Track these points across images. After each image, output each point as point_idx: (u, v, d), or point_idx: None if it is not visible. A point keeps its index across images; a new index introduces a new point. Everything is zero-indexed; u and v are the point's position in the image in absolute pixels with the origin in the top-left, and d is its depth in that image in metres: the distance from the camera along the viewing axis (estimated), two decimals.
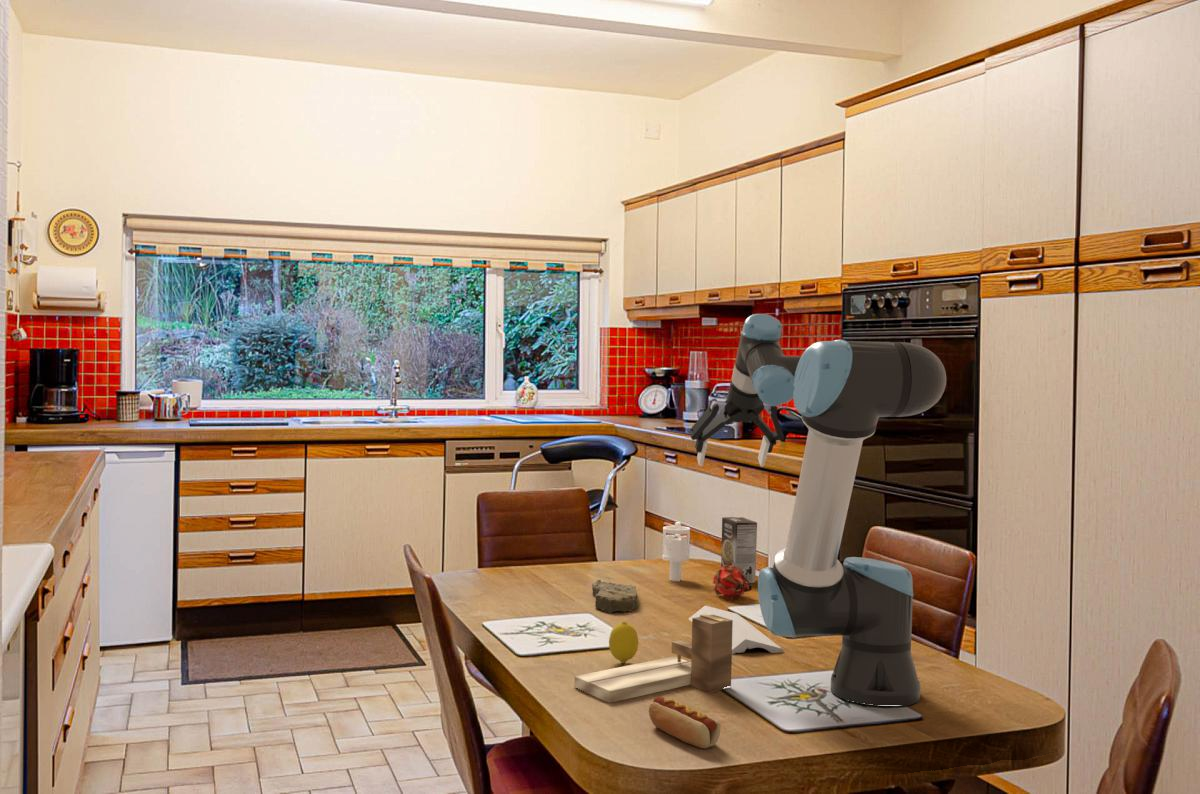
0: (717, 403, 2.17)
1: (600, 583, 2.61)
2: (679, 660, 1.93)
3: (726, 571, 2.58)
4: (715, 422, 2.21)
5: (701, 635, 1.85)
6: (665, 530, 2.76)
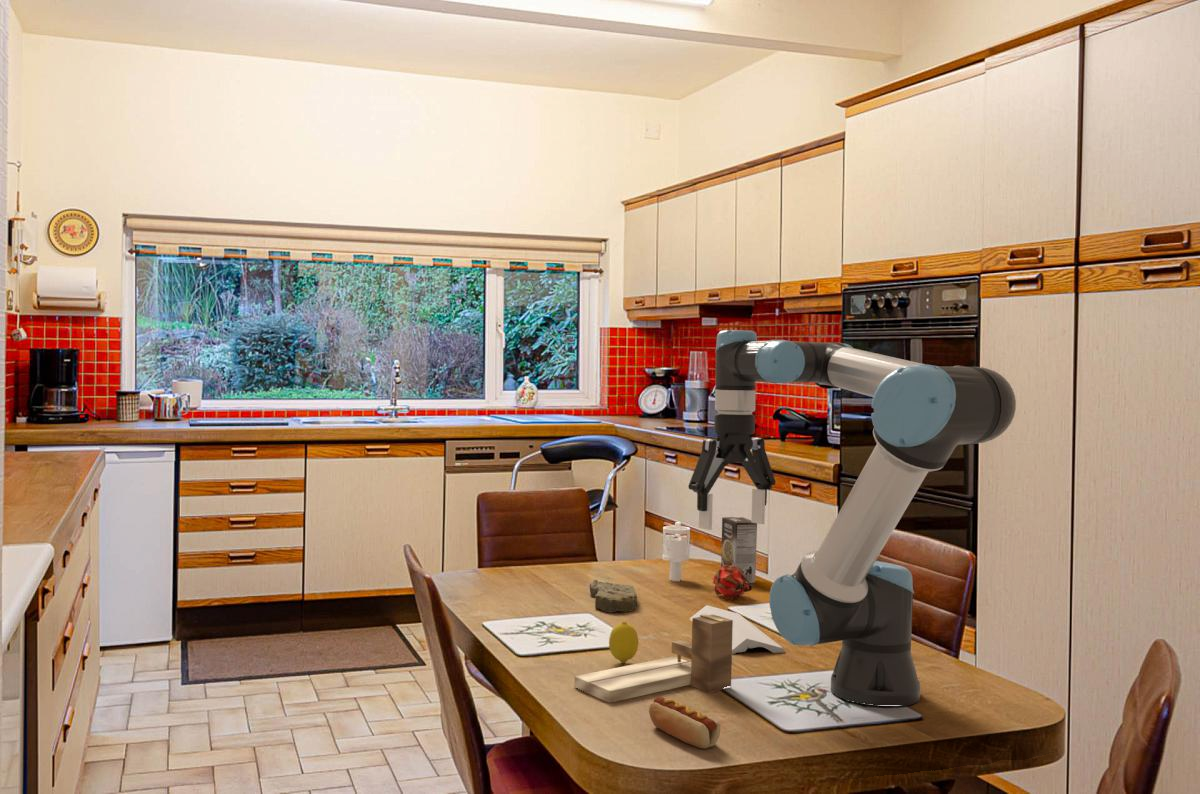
0: None
1: (597, 583, 2.61)
2: (679, 660, 1.93)
3: (726, 571, 2.58)
4: (711, 468, 1.95)
5: (701, 635, 1.85)
6: (665, 530, 2.76)
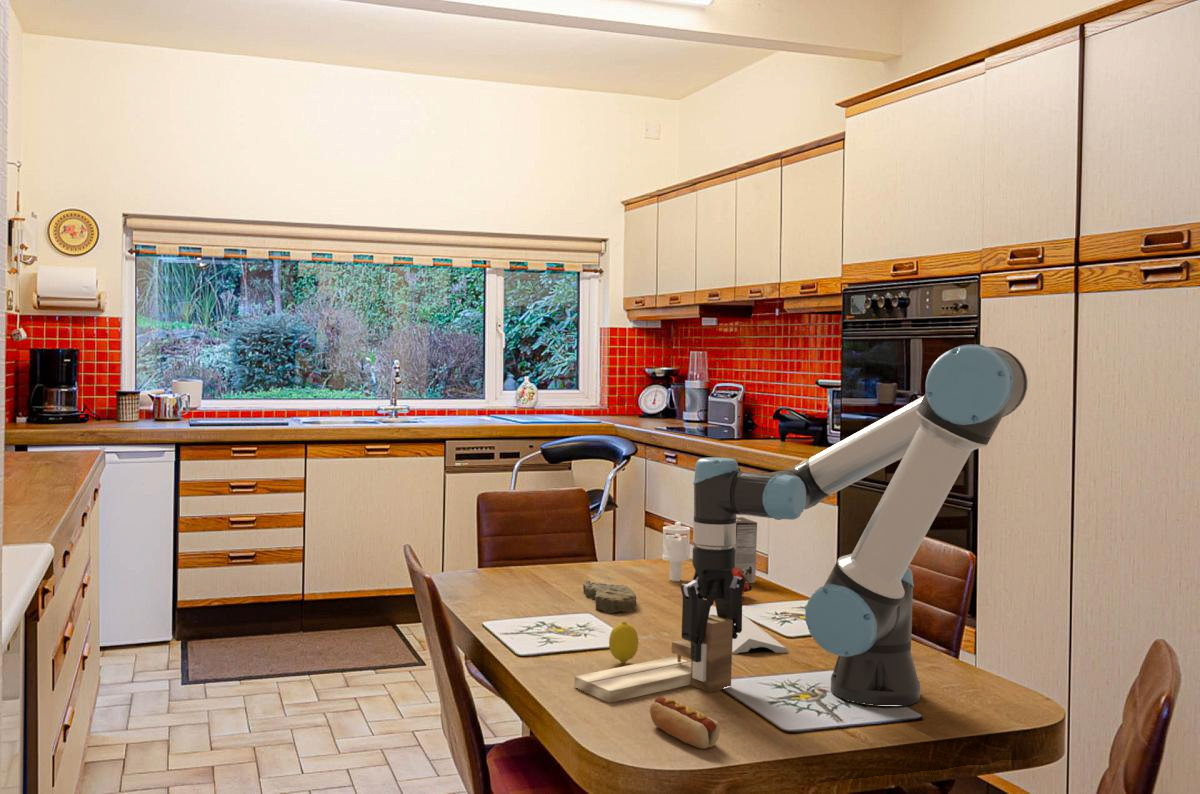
0: (689, 584, 1.82)
1: (591, 584, 2.60)
2: (679, 660, 1.93)
3: None
4: (698, 613, 1.84)
5: None
6: (665, 530, 2.76)
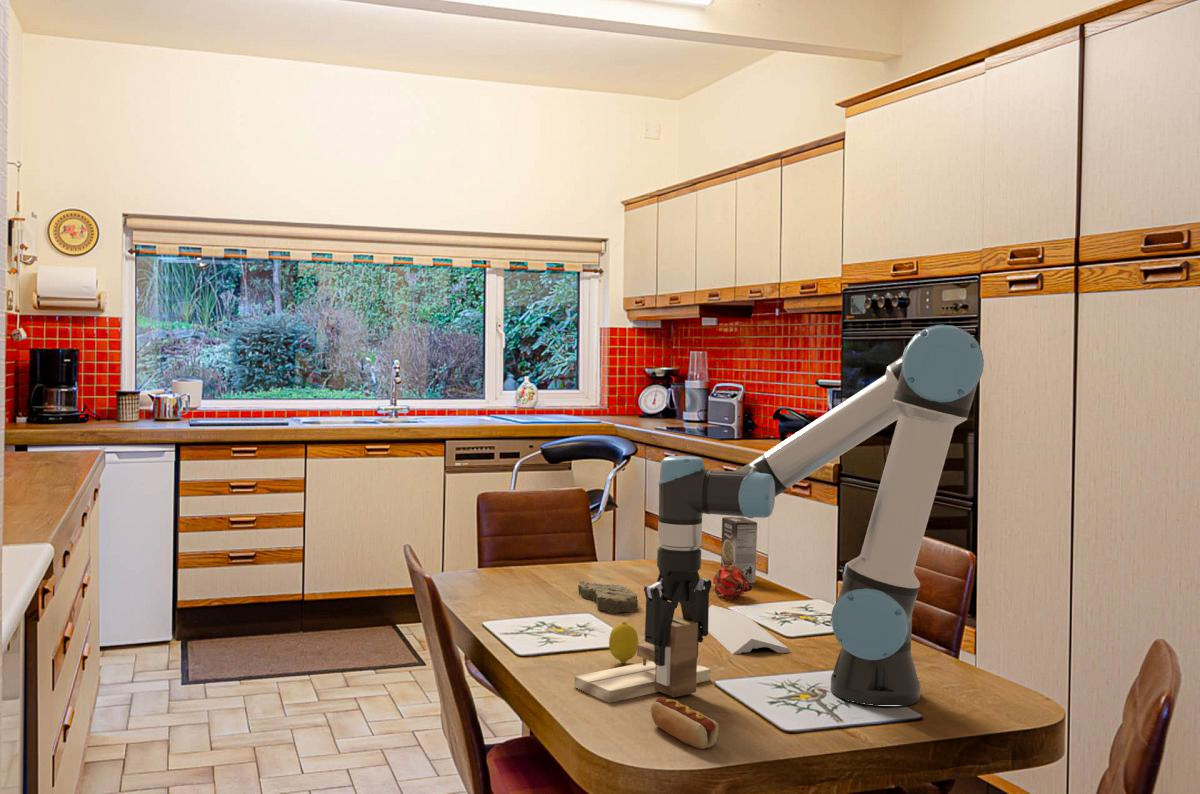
0: (653, 586, 1.78)
1: (587, 584, 2.59)
2: (644, 663, 1.88)
3: (726, 571, 2.58)
4: (662, 615, 1.80)
5: None
6: None
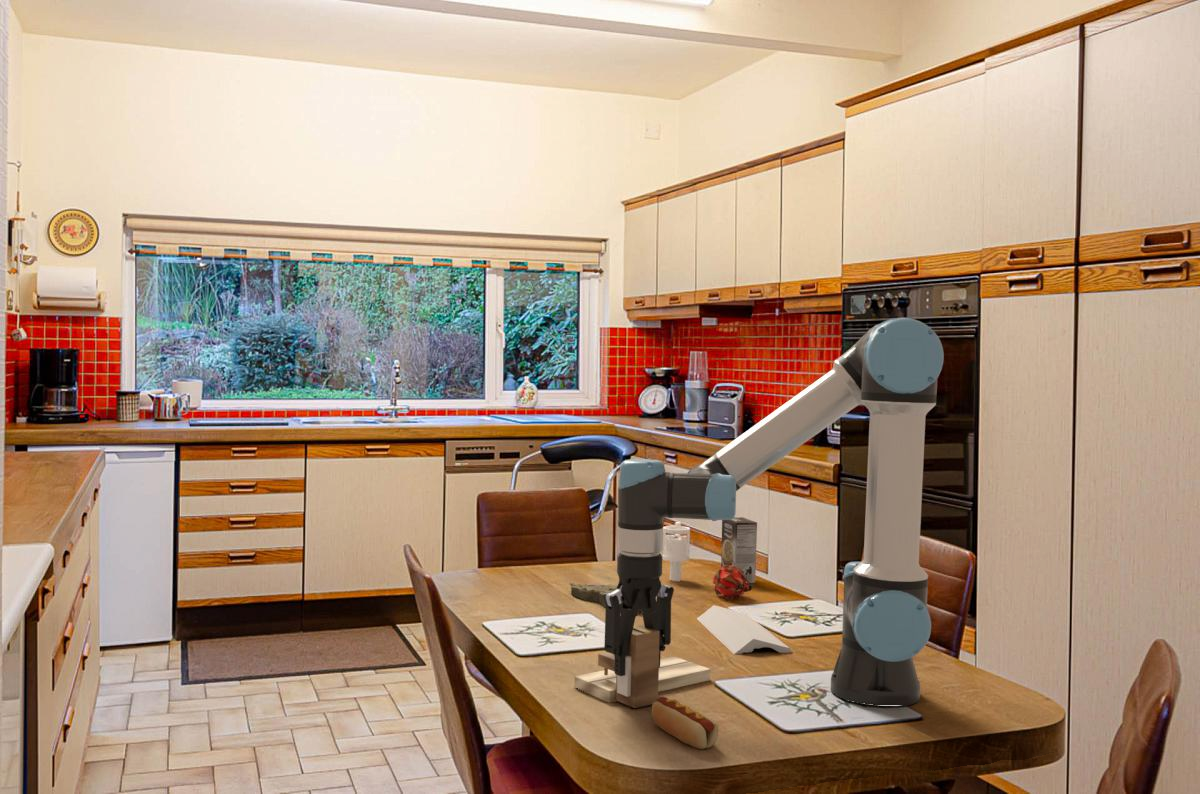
0: (612, 594, 1.72)
1: (581, 586, 2.57)
2: (606, 673, 1.83)
3: (726, 571, 2.58)
4: (622, 624, 1.74)
5: None
6: (665, 530, 2.76)
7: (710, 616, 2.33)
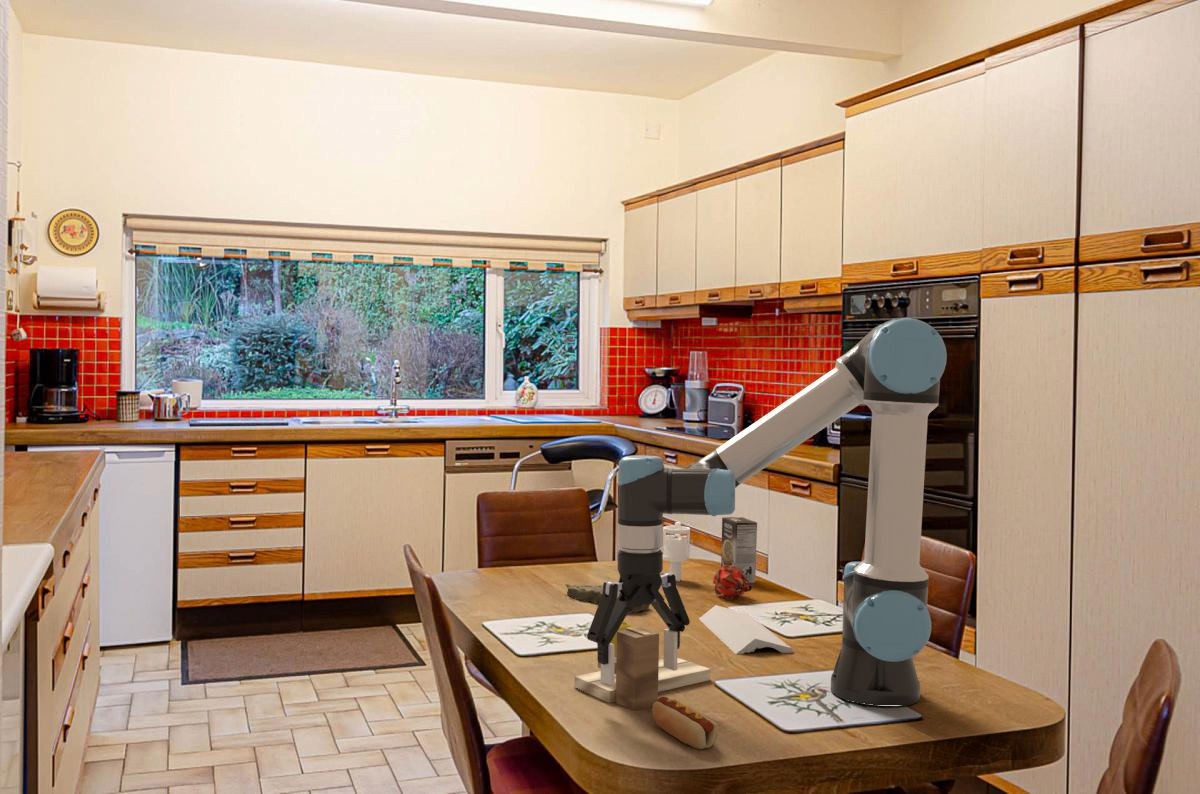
0: None
1: (579, 587, 2.56)
2: None
3: (726, 571, 2.58)
4: (614, 614, 1.73)
5: (625, 650, 1.75)
6: (665, 530, 2.76)
7: (712, 616, 2.33)
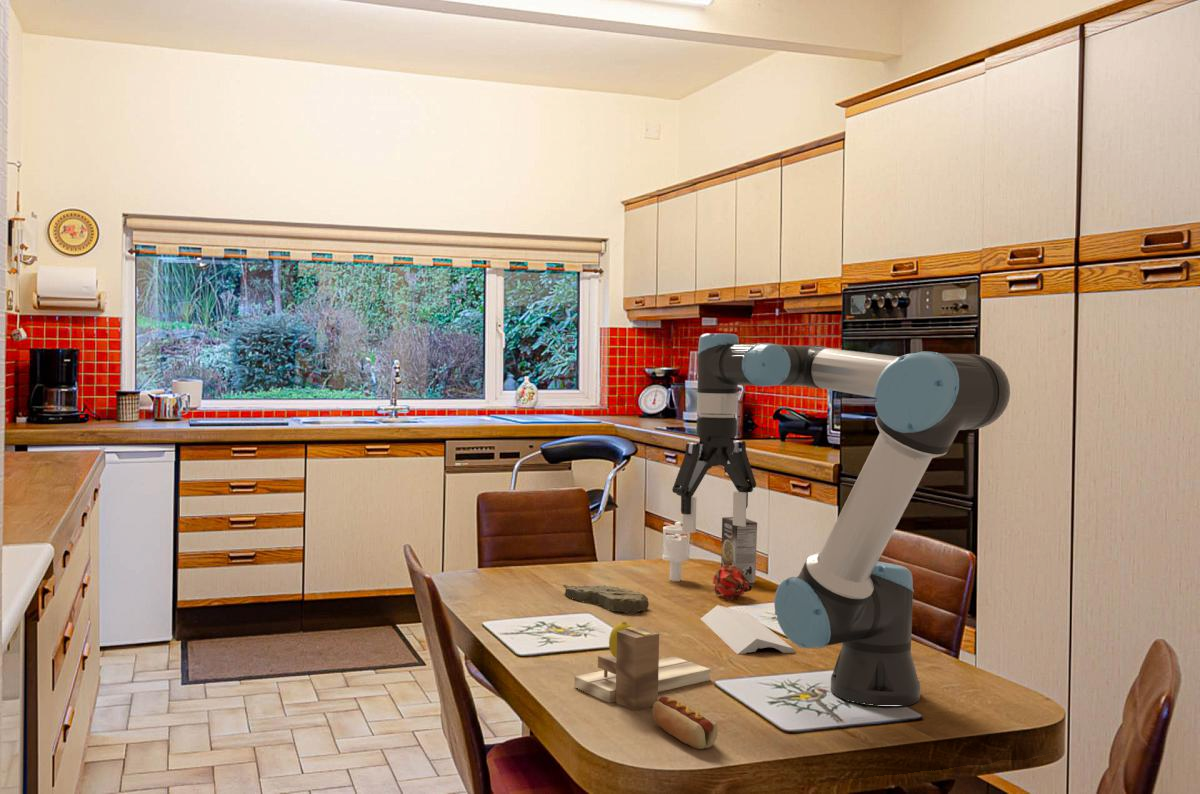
0: None
1: (577, 587, 2.55)
2: (606, 675, 1.83)
3: (726, 571, 2.58)
4: (695, 471, 1.95)
5: (625, 650, 1.75)
6: (665, 530, 2.76)
7: (714, 616, 2.33)
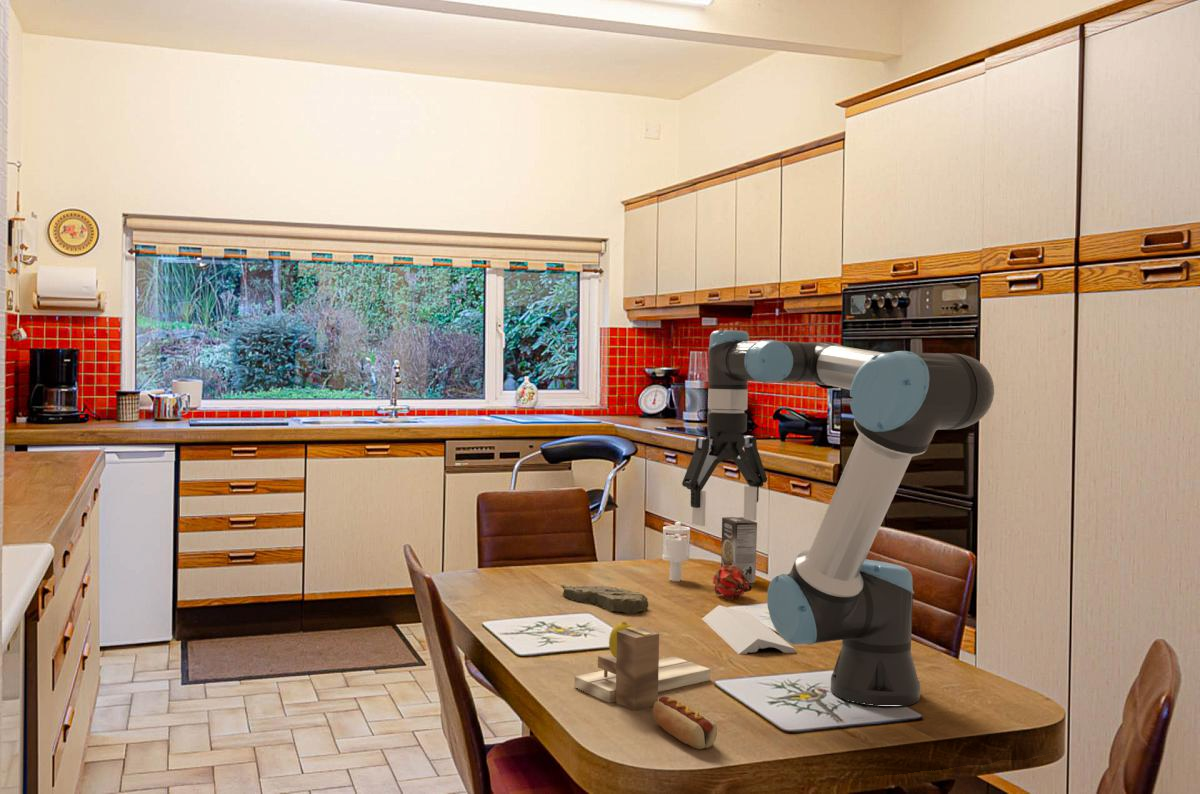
0: None
1: (575, 588, 2.55)
2: (606, 675, 1.83)
3: (726, 571, 2.58)
4: (705, 466, 1.99)
5: (625, 650, 1.75)
6: (665, 530, 2.76)
7: (715, 616, 2.33)
